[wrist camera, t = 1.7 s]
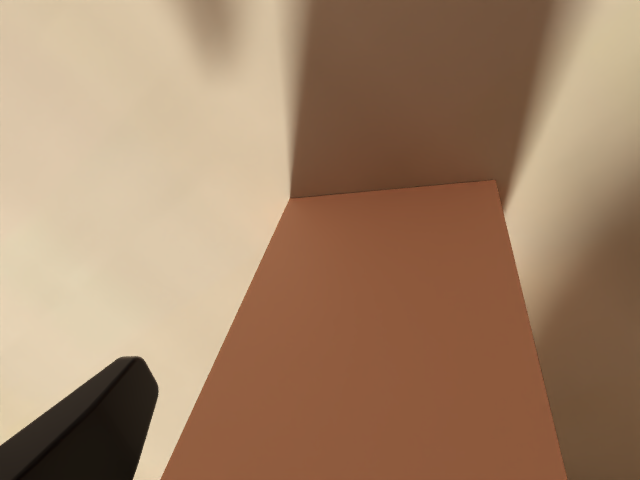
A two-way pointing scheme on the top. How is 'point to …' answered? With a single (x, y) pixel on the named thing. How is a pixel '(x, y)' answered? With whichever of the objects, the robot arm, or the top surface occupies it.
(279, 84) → the top surface
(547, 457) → the terracotta domino
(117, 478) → the robot arm
